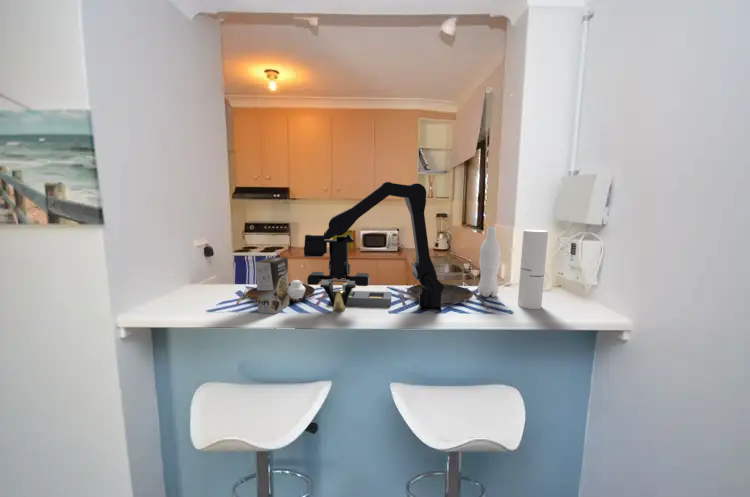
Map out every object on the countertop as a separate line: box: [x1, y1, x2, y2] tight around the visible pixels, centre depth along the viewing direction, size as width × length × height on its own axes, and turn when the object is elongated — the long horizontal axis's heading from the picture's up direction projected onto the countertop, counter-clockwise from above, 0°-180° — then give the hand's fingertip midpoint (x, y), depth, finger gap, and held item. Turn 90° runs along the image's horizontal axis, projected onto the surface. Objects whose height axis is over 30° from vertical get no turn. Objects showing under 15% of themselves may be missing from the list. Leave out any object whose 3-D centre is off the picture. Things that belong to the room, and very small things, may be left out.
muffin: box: [289, 279, 306, 299], centre depth 111 cm, size 6×6×7 cm
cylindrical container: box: [517, 229, 549, 310], centre depth 105 cm, size 7×7×25 cm
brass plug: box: [333, 289, 346, 313], centre depth 101 cm, size 4×4×6 cm
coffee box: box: [255, 256, 290, 315], centre depth 101 cm, size 9×6×16 cm
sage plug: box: [341, 282, 354, 297], centre depth 110 cm, size 4×4×6 cm
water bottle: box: [477, 226, 502, 298], centre depth 115 cm, size 7×7×25 cm
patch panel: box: [330, 290, 392, 307], centre depth 109 cm, size 20×8×3 cm, turn 85°
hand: (339, 305), depth 101 cm, fingers closed on brass plug, 3 cm apart
